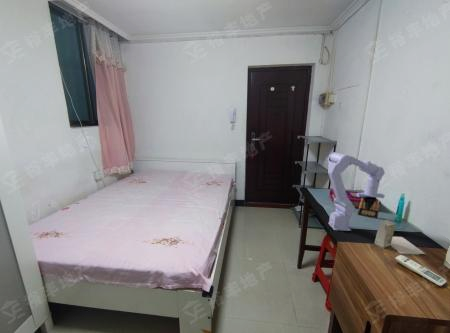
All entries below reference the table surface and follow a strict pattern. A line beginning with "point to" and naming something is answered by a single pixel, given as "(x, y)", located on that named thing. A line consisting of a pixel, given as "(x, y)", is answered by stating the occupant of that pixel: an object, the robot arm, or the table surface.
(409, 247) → the mat
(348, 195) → the book
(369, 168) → the robot arm
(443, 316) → the table surface
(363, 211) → the ammunition clip
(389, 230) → the skincare box
